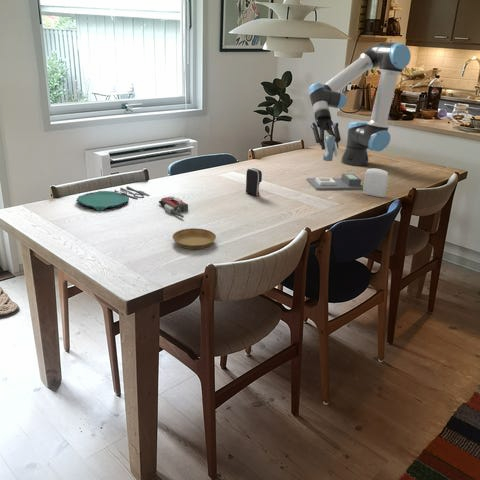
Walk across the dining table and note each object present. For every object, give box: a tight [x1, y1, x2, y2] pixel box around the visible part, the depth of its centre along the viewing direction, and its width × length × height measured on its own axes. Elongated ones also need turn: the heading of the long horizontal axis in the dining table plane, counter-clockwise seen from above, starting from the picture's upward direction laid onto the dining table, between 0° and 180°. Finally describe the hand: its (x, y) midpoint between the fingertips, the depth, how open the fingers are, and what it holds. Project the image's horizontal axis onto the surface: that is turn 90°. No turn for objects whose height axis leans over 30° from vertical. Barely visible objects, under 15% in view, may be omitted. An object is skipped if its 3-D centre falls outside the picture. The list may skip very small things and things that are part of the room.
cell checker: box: [306, 173, 364, 191], centre depth 240 cm, size 24×16×4 cm, turn 100°
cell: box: [322, 134, 335, 162], centre depth 233 cm, size 4×4×12 cm
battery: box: [245, 167, 263, 197], centre depth 219 cm, size 7×4×11 cm, turn 42°
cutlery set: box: [75, 186, 150, 212], centre depth 205 cm, size 20×30×2 cm, turn 142°
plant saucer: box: [172, 227, 217, 250], centre depth 169 cm, size 15×15×3 cm
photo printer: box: [362, 167, 389, 198], centre depth 226 cm, size 10×4×12 cm, turn 63°
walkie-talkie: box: [158, 196, 189, 219], centre depth 197 cm, size 9×4×20 cm
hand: (331, 155), depth 230 cm, fingers closed on cell, 4 cm apart
